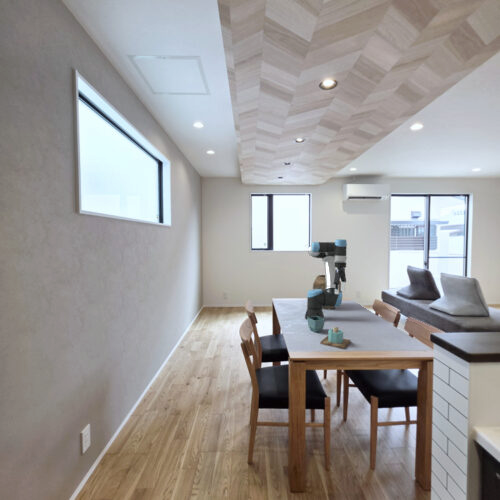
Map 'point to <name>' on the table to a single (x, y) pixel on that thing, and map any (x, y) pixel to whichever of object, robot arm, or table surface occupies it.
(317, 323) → the flower pot
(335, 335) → the ring
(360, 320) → the table surface
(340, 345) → the post stand
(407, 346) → the table surface
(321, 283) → the vase
